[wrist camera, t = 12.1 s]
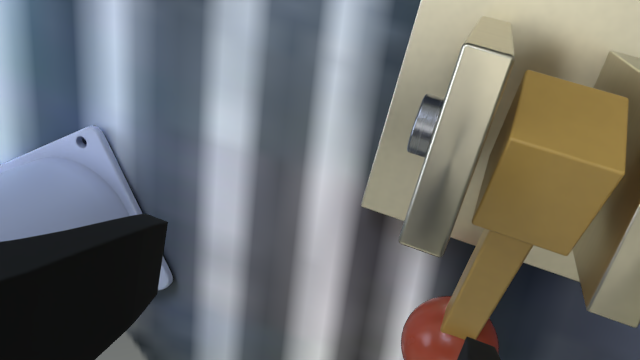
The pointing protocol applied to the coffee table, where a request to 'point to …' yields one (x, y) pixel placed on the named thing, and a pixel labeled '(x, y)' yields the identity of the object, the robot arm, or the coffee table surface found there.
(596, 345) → the coffee table surface
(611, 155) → the lever
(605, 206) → the tap bracket
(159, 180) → the coffee table surface
